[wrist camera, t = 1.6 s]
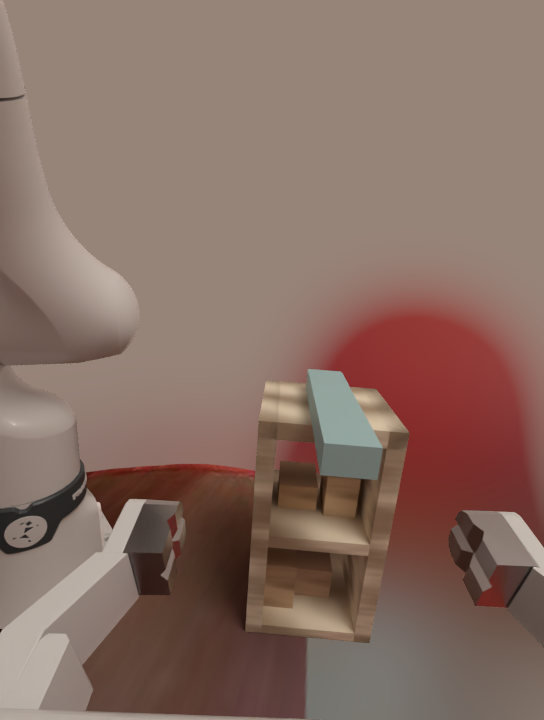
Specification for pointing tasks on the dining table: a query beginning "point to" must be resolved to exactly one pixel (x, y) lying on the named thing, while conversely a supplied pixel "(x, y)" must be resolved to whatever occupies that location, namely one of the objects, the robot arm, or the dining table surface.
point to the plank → (341, 428)
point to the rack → (319, 525)
